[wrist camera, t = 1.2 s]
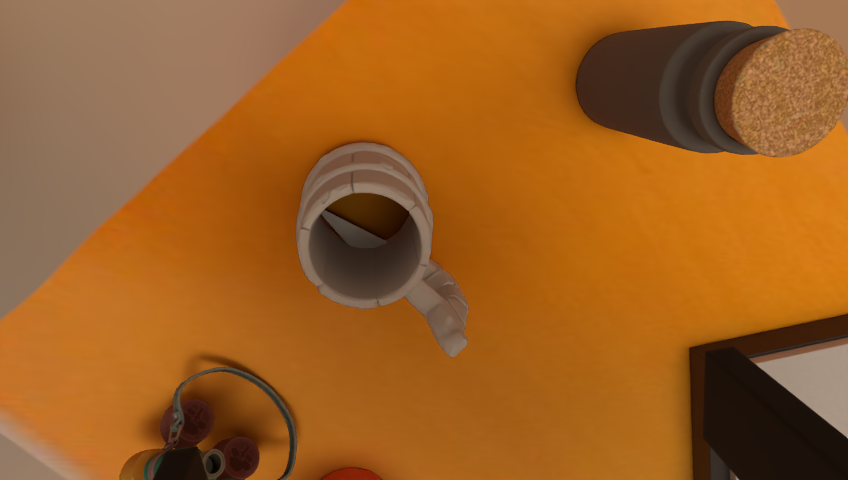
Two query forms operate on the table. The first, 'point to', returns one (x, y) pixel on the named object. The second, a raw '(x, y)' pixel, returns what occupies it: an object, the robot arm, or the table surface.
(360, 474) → the coffee cup
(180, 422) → the binoculars
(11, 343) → the table surface
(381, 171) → the mug
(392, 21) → the table surface
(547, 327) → the table surface
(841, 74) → the bottle
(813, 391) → the scale
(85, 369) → the table surface
